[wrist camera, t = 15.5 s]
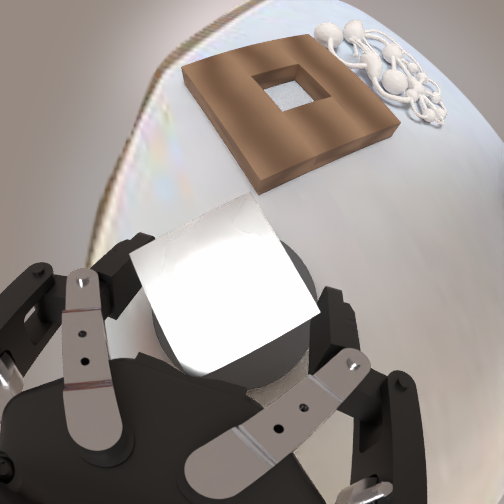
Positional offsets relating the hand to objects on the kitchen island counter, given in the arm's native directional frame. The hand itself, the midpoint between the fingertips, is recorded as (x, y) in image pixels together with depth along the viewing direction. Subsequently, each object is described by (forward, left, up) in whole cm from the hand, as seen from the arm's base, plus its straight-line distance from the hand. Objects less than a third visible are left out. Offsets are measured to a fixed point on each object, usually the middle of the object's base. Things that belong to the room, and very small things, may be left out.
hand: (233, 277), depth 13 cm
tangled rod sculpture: (-30, -16, -9) cm, 35 cm away
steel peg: (+1, +1, -8) cm, 8 cm away
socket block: (-13, -14, -9) cm, 21 cm away
